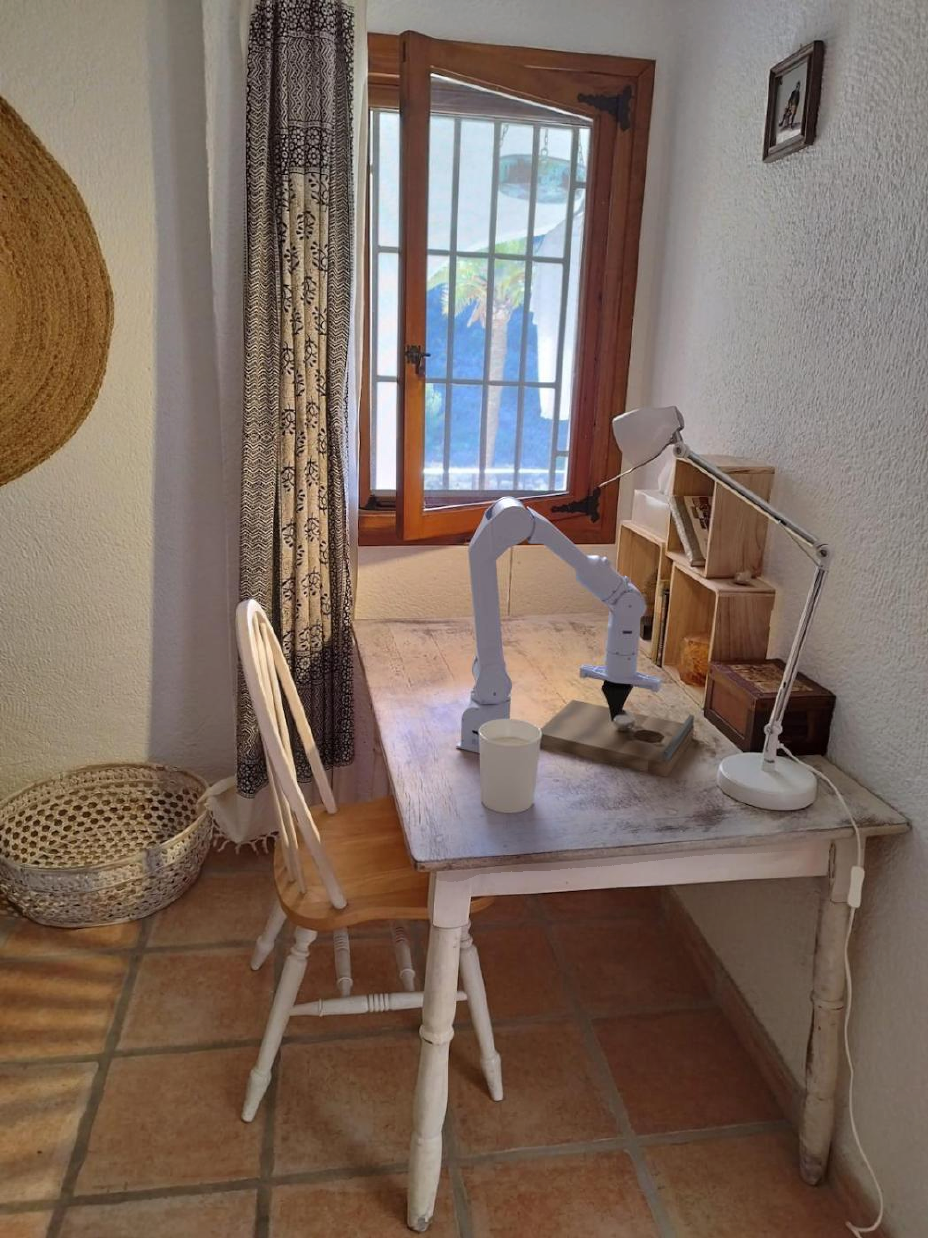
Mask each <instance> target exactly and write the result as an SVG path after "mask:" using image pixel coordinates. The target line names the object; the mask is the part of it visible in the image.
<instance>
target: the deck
mask: <svg viewBox="0 0 928 1238" xmlns="http://www.w3.org/2000/svg"><path fill="white" fill-rule="evenodd" d="M632 714H633V715H634V717H635V725H634V727H633V728H632V729H631V730H629V731H626V732H623V731H619V730H618V729H616V728H615V726H614V724H613V722H612V721H611V714H610V710H609V706H603V705H599V704H596V703H595V704H594V703H590V702H584V701H581V700H576V699H572V700H570V701H569V702H568V703H567V704H566V705H565V706H564V707H563V708H562V709H561V710H560V711H559V712H557V713H556V714H555V715H554V716H553V717H552V718H551V719H550V720H549V721H547V723H546V724H545V725H543V726H542V727H541V728H540V730H541V732H542V738H541V744H540V748H541V747H542V748H546V749H548V750H553V751H558V752H561V753H566V754H570V755H574V756H578V757H581V758H585V759H586V758H587V759H591V760H594V761H600V762H604V763H606V764H612V765H616V766H620V767H624V768H628V769H632V770H637V771H640V772H644V773H648V774H653V775H657V776H660V777H665V778H667V777H668V776H669V774H670V773H671V772H672V770H673V768H675V766H676V764H677V763H678V761H679V759H680V758H681V757H682V755H683V753H684V752H685V750H686V749H687V747H688V746H689V744H690V743H691V741H692V740H693V739H694V731H695V730H694V729H695V725H694V722H695V721H694V720H695V715H693V714H689V715H688V717H687V718H686V719H685V721H684V722H683V723H682V722H679V721H674V720H671V719H669V720H668V719H664V718H660V717H655V716H650V715H645V714H640V713H638V712H637V713H636V712H632Z"/></svg>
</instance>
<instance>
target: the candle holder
mask: <svg viewBox="0 0 928 1238" xmlns="http://www.w3.org/2000/svg"><path fill="white" fill-rule="evenodd" d="M540 729H541V728H539V727H538V726H537V725H535V724H534V723H531V722H530V721H526V720H522V719H516V718H510V719H497V720H492V721H489V722H486V723H484V724H483V725H482V726H481V727H480V728H479V749H480V753H479V776H480V777H479V779H480V780H479V781H480V782H479V783H480V785H479V786H480V799H481V803H482V804H483V805H484V806H485V807H486V808H487V809H489V810H491V811H494V812H497V813H502V814H517V813H521V812H525V811H527V810H528V809H531V807H532V805H533V803H534V800H535V792H536V784H537V778H538V777H537V776H538V768H539V767H538V766H539V760H540V752H541V751H540V750H541V747H540V744H541V738H542V732H541V730H540Z"/></svg>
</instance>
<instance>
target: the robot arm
mask: <svg viewBox="0 0 928 1238" xmlns="http://www.w3.org/2000/svg"><path fill="white" fill-rule="evenodd" d="M524 541H527V542H528V544H535V545H536V544H537V545H538V544H539V545H540V544H541V545H544V546H545V547H546V548H548V549H549V550H550V551H551V552H553V553H554V554H556V556H557V557H559V558H560V559H562V560H563V561H564V562H565V563H566V564H567V565H569V566H570V567H571V568H573V569H574V571H575V581H576V582H578V584H580V585H581V586H582V587H583V588H584V589H585V590H587V591H589V593H590V594H591V595H593V596H594V597H595V598H596V599H598V601H600V602H601V603H602V604H606V606H607V607H608V608H610V609H609V610H608V611H609V612H608V621H607V627H606V628H607V629H606V640H605V641H606V642H605V652H604V653H605V656H604V665H591V664H582V666H580V668H579V678H581V679H586V678H588V679H593V680H598V681H599V680H600V681H603V684H602V685H601V692H602V693H603V695H604V697H605V700H606V703H607V705H608V706H607V707H609V710H610V714H611V721H612V722H613V719H614V717H615V716H617V715H618V713H619V711H620V710H623V709H624V706H625V703H626V702H627V699H628V698H629V696H630V693H631V692H632V690H633V688H640V689H645V690H651V692H652V693H653V692H654V693H658V692H659V691H660V690H661V686H662V678H660V677H659V678H658V677H655V676H651V675H648V674H646V673H642V672H639V671H638V658H639V647H640V634H641V618H643V616H644V615H645V613H646V611H647V608H648V606H647V604H646V601H645V596H644V595H643V594H642V592H641V591H640V590H639V589H638V588H637V587H636V586H635V585H634V584H633V583H632V581H631V579H630V578H629V577H628V576H626V575H624V576H622V575H621V574H620V573H619V572H618V570H616V569H615V568H613V567H612V565H611V564H612V561H610V560H609V559H608V557H606V556H604V557H601V556H600V555H597V554H593V555H587V554H585V553H584V552H583V550H581V549H580V548H579V546H577V545H575V543H573V542H572V541H571V540H570V539H569V538H568V537H567V536H566V535H565V534H564V533H563V532H561V530H559V529H558V527H556V526H555V525H554V524H553V522H552V523H551V521H549V520H548V519H547V518H546V517H544V516H543V515H541V514H539V512H537V511H536V510H534V509H532V508H531V507H529V506H526V507H525V506H524V504H523V502H521V501H520V500H519V499H518V498H515V497H514V496H513V497H512V496H503V497H501V498H499V499H497V500H496V501H495V502H493V503H492V504H491V505H490V506H489V507H488V508H486V510H485V511H484V514H483V517H482V520H481V521H480V524H479V525H478V527H477V528H476V530H475V533H474V534H473V537H471V540H470V542H469V544H468V546H467V547H468V549H467V550H468V551H467V552H468V553H467V554H468V563H469V574H470V575H469V576H470V577H469V578H470V589H471V599H472V600H471V601H472V613H473V623H474V634H475V635H474V636H475V637H474V638H475V659H474V661H473V662H472V667H471V674H472V676H473V679H474V683H475V684H474V686H473V687H472V689H471V690H470V699H469V703H468V706H467V707H466V709H465V710H464V711H463V713H462V715H461V726H460V727H461V728H460V741H459V742H457V743H456V744H455V746H456V748H458V749H462V750H465V751H469V752H472V753H478V754H480V749H479V728H480V727H481V726H482V725H483V724H484V723H486V722H489V721H492V720H497V719H511V702H512V701H511V700H512V699H511V697H512V689H513V688H512V687H513V683H512V680H511V677H510V675H509V673H508V670H507V664H506V661H505V656H504V649H503V639H502V637H503V636H502V625H501V624H502V623H501V610H500V595H499V584H498V583H499V581H498V571H497V570H498V569H497V560H498V559H499V558H500V557H501V556H502V555H503V554H504V553H505V552H506V551H507V550H508V549H509V548H512V547H514V546H516V545H518V544H521V543H522V542H524Z"/></svg>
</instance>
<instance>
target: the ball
mask: <svg viewBox="0 0 928 1238" xmlns="http://www.w3.org/2000/svg"><path fill="white" fill-rule="evenodd" d="M632 713H633V712H631V711H630V710H628V709H624V708H623V709H622V710H620V711H619V713H618V715H617V716H615V717H614V719H613V724H614V726H615V728H616V729H618V730H619V731H623V732H626V731H629V730H631V729H632V728H633V727H634V725H635V717H634V715H633V714H632Z"/></svg>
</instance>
